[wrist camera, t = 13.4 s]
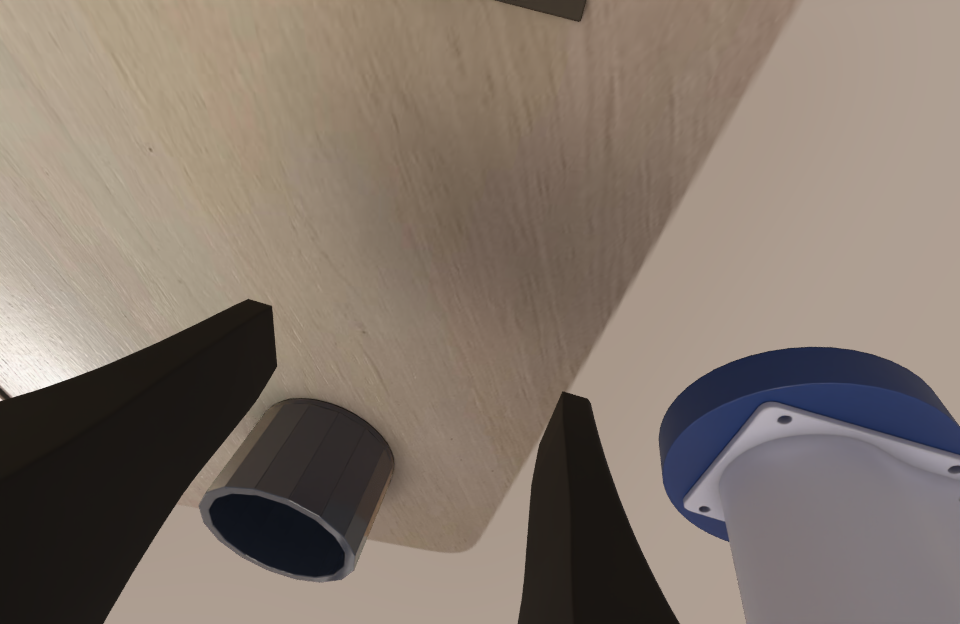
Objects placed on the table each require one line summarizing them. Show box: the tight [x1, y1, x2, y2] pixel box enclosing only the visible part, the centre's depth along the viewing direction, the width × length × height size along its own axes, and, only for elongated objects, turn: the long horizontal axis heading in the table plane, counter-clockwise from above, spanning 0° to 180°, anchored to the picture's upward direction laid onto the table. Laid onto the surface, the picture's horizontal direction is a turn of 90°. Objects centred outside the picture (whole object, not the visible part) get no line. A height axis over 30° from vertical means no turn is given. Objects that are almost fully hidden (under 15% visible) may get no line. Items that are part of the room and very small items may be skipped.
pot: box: [199, 399, 394, 582], centre depth 30 cm, size 9×9×6 cm
